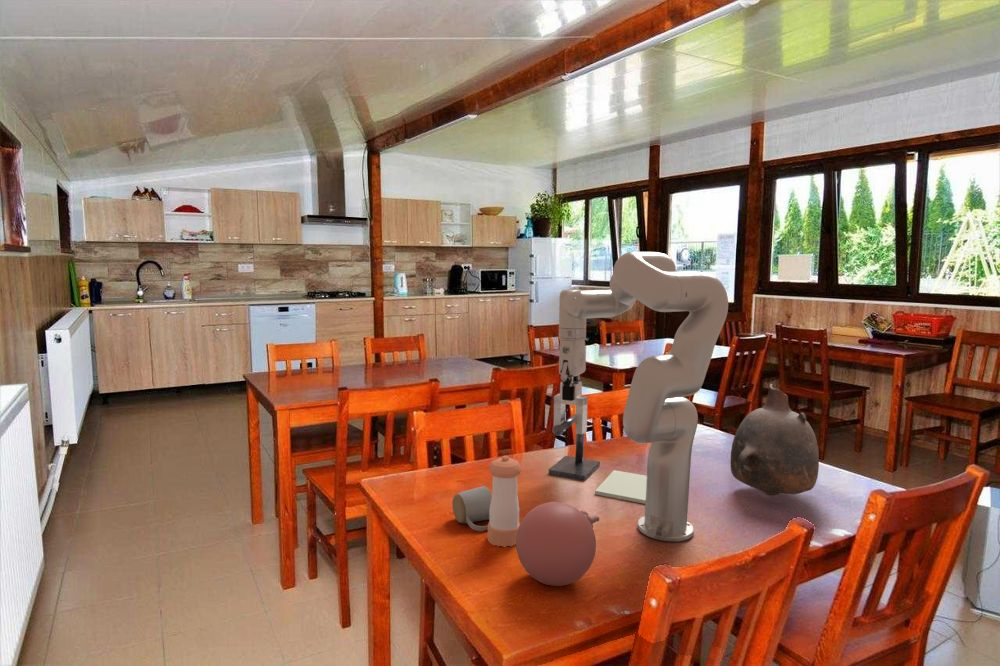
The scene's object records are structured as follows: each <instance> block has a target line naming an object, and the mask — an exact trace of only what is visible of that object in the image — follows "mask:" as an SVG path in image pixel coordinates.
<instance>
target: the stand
mask: <svg viewBox="0 0 1000 666" xmlns="http://www.w3.org/2000/svg"><path fill="white" fill-rule="evenodd" d="M575 424H576V413H575V414H573V415H572V416H570V417H568V418H567V419H565V421H564V422H563V423H561V424H560V425H555V426H554V425H553V427H552V433H553V434H554V436H557V437H559V436H562V435H563V434H564V431H565V430H567V429H569V428H570V427H571V426H572V425H575ZM584 445H585V433H583V434H575V453H574V454H575V455H574V456H569V455H564V456H563V457H562V458H560V460H559V461H557V462H556V463H555V464H553V465H552V466H551V467H549V469H548V476H549V475H550V476H556V477H561V478H566V479H571V480H577V481H581V482H586V480H588V479H589V477H590V476H592V474H593V473H595V472H596V471H597V470H598V468H600V467H601V462H600V461H599V460H593V459H587V458H584V448H585V446H584Z"/></svg>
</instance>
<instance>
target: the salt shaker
mask: <svg viewBox="0 0 1000 666" xmlns="http://www.w3.org/2000/svg"><path fill="white" fill-rule="evenodd" d="M488 470H489V473H490V475H492V485H491V486H492V489H491V490H492V492H491V495H492V498H491V504H490V509H489V515H490V519H489V522H488V524H487V525H488V530H487V541H489V542H488V543H489V544H490V545H492V544H493V546H495V545H497V546H496V547H499V546H510V547H513V546H512V545H514V546H516V545H515V544H516V537H517V532H518V528H519V526H520V524H521V522H520V503H519V497H518V476H519V475H520V474H521V471H522V466H521V464H520V463H519V461H518V460H516V459H513V458H511V457H509V456H508V455H503V456H502V457H498V458H496V459H493V460H492V461H491V462H490V464H489V469H488Z"/></svg>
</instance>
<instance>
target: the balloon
mask: <svg viewBox="0 0 1000 666" xmlns="http://www.w3.org/2000/svg"><path fill="white" fill-rule="evenodd" d="M599 521H600V517H599V516H598V515H589V513H588V512H587V511H586V510H583V509H582V510H579V509H578V508H576V507H575V506H573V505H571V504H568V503H565V502H560V501H548V502H544V503H541V504H539V505H537V506H535V507H534V508H532V509H531V510H529V511H528V512H527V513H526V514H525V516H524V517H523V519H522V520H521V522H520V526H519V528H518V532H517V537H516V545H515V549H516V553H517V554H516V555H517V558H518V559H519V562H520V564H521V566H522V568H523V569H524V570H525V571H526V573H527V574H528V575H529V576H530V577H532V578H533V579H534V580H535V581H538V582H539V583H540V584H541V583H542V584H544V585H547V586H551V587H553V586H554V587H561V586H563V587H564V586H567V585H570V584H573V583H575V582H577V581H578V580H581V579H582V577H584V576H585V575H586V573H587V572H588V571H589V569H590V568H591V566H592V565H593V562H594V559H595V555H596V551H597V550H596V549H597V540H596V534H595V531H594V524H595V523H596V522H597V523H598V522H599Z"/></svg>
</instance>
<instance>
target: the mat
mask: <svg viewBox="0 0 1000 666" xmlns="http://www.w3.org/2000/svg"><path fill="white" fill-rule="evenodd" d="M646 480H647V475H644V474H638V473H634V472H626V471H622V470H615V469H614V470H613V471H611V473H610V474H609V475H608V476H607V477H606V478H605V479H604V481H602V483H601V484H600V485H599V486H598V487H597V489H596V490H594V493H595V494H594V495H598V496H600V497H601V496H602V497H607V498H613V499H617V500H622V499H623V500H622V501H627V500H628V502H633V503H637V504H643V505H645V501H646Z"/></svg>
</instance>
